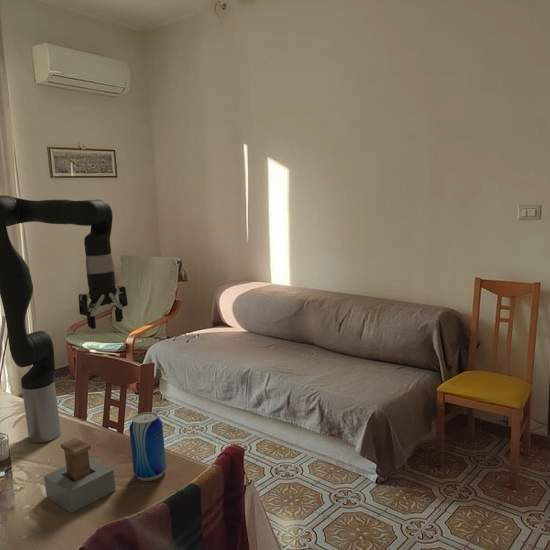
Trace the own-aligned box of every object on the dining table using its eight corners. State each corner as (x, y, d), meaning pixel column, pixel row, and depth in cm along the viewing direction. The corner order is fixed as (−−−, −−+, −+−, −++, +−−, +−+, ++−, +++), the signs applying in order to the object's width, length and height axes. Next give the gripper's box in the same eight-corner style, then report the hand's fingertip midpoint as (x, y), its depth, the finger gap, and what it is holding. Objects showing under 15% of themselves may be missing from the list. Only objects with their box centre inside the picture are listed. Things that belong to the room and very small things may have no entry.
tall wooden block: (66, 488, 135) (60, 444, 133) (80, 481, 138) (75, 437, 136) (80, 497, 130) (75, 452, 128) (95, 490, 133) (90, 445, 131)
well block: (46, 496, 134) (43, 475, 133) (90, 475, 143) (87, 456, 142) (71, 513, 126) (68, 492, 125) (115, 490, 135) (113, 469, 134)
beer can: (158, 483, 137) (153, 425, 134) (128, 481, 138) (122, 423, 136) (171, 466, 145) (166, 411, 142) (142, 464, 146) (137, 410, 144)
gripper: (114, 265, 160) (119, 318, 163) (70, 273, 150) (76, 329, 153) (129, 267, 156) (134, 321, 158) (84, 275, 145) (90, 332, 148)
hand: (106, 325), depth 155 cm, fingers open, 8 cm apart
